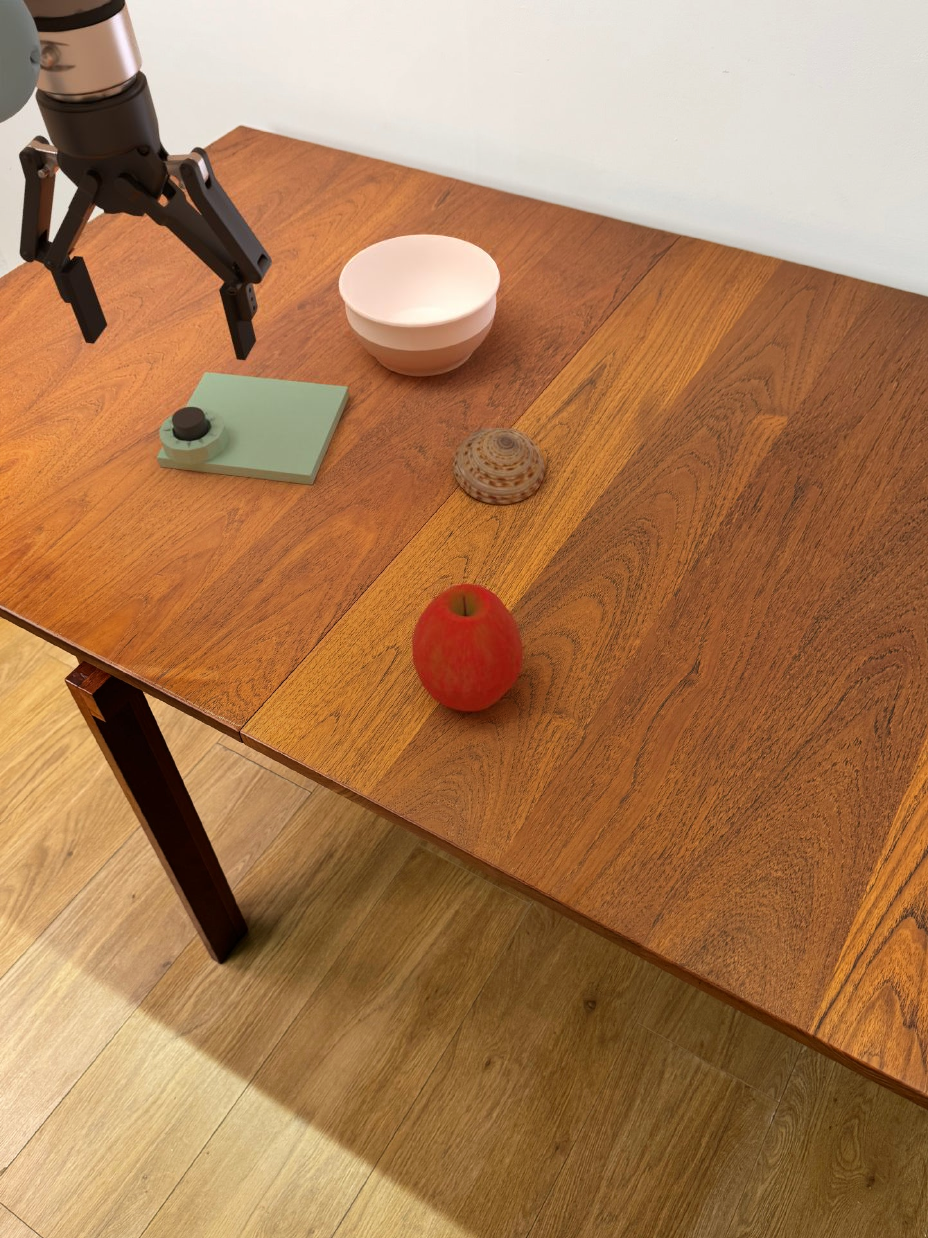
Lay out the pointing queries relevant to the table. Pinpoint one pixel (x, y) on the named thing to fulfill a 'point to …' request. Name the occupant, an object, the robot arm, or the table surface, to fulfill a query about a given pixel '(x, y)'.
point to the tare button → (190, 424)
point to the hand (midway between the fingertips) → (170, 342)
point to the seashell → (498, 465)
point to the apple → (467, 648)
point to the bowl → (420, 301)
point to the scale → (258, 428)
